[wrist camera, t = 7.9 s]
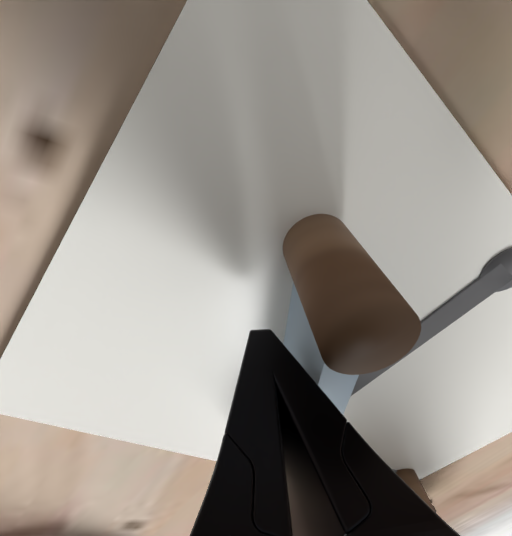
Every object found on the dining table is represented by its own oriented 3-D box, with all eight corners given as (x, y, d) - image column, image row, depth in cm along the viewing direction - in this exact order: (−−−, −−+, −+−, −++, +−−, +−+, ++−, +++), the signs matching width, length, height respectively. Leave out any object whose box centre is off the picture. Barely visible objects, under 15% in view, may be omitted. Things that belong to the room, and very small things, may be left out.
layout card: (632, 361, 17) (640, 367, 17) (383, 493, 24) (385, 499, 24) (259, -133, 5) (262, -146, 5) (-21, 401, 12) (-28, 410, 12)
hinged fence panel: (297, 434, 15) (319, 530, 12) (258, 438, 15) (270, 537, 12) (355, 213, 9) (437, 301, 6) (286, 213, 8) (332, 305, 5)
